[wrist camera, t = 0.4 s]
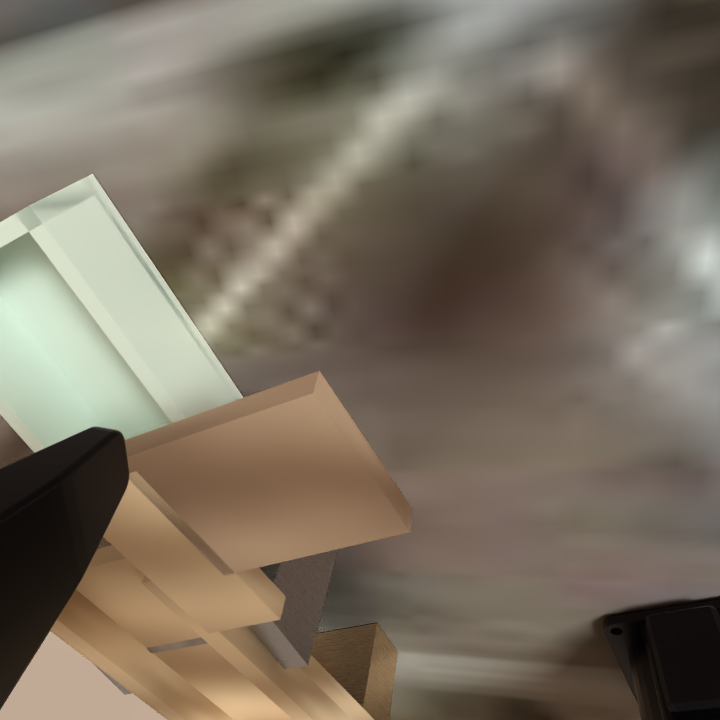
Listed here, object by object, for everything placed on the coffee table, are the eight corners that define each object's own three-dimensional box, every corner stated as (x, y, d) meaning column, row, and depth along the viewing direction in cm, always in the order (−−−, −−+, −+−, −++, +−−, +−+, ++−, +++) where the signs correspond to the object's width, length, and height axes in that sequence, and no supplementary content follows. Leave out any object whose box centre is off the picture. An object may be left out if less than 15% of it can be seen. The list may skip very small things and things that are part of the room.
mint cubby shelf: (246, 402, 25) (214, 458, 22) (121, 446, 28) (78, 502, 25) (92, 173, 21) (29, 205, 18) (-38, 249, 24) (-112, 287, 21)
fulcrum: (433, 647, 31) (422, 802, 25) (283, 670, 35) (242, 813, 29) (305, 450, 26) (252, 589, 20) (142, 500, 29) (56, 632, 23)
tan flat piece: (569, 713, 25) (579, 789, 23) (272, 744, 30) (258, 809, 28) (328, 339, 15) (307, 411, 13) (-46, 479, 21) (-103, 547, 18)
